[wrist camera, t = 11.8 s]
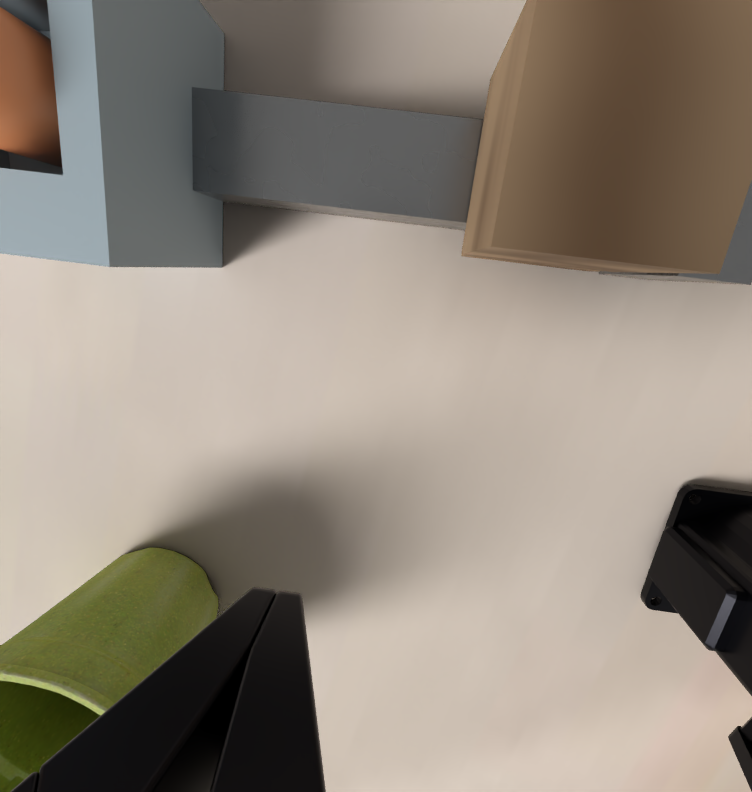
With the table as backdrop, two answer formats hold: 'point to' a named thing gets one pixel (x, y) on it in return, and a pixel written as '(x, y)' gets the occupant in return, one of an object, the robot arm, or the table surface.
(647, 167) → the block
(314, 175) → the rail
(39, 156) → the brown egg
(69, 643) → the plant pot
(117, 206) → the blue grey open box
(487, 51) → the table surface
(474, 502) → the table surface
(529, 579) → the table surface
